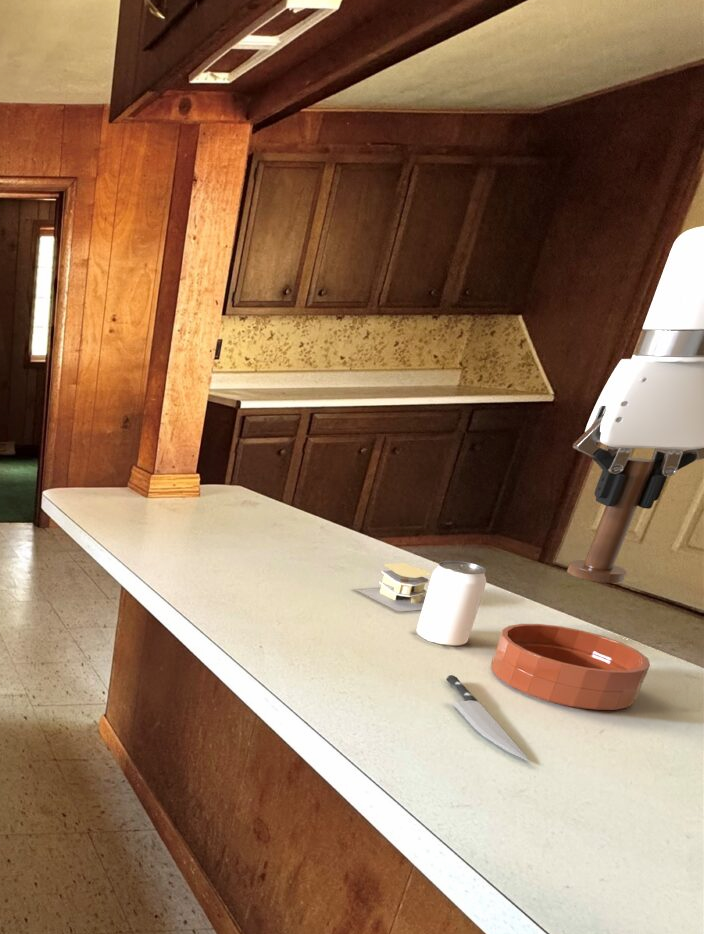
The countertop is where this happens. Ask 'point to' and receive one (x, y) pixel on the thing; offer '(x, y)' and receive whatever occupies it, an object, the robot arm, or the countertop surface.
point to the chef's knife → (483, 719)
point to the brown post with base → (614, 527)
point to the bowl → (569, 666)
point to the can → (451, 603)
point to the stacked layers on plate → (400, 587)
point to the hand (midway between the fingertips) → (622, 503)
